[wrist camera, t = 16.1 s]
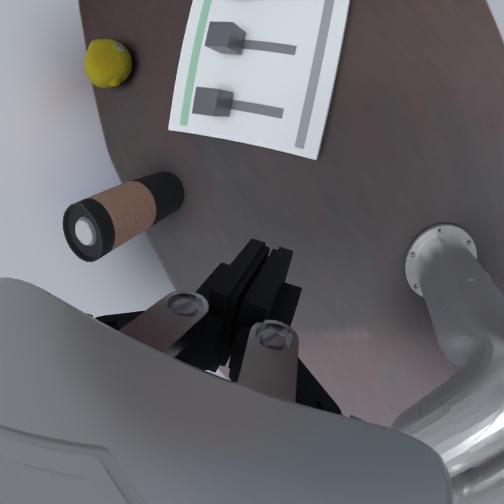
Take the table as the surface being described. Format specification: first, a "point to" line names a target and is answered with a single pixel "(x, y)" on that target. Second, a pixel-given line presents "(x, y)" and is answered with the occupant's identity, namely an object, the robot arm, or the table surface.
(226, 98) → the block
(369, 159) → the table surface
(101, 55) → the lemon
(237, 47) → the block
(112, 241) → the travel mug
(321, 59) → the breaker panel
